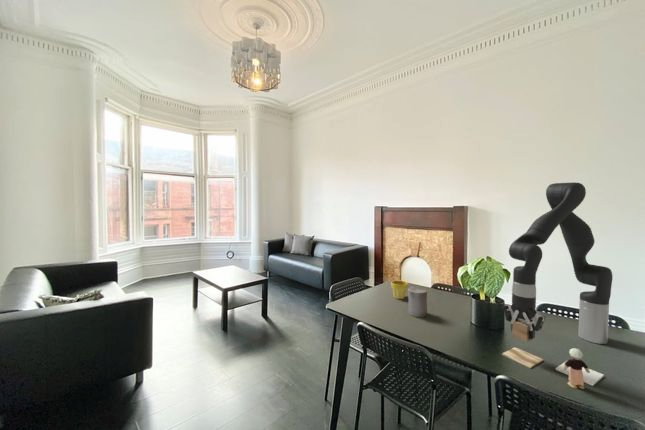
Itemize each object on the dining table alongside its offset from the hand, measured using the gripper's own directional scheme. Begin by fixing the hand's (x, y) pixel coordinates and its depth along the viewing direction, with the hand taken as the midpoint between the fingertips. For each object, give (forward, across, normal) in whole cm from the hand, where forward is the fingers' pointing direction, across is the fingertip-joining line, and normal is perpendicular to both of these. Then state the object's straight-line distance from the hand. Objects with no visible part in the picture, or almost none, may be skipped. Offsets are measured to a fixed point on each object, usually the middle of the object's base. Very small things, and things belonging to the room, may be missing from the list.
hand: (522, 335), depth 106 cm
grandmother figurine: (+9, -17, +3) cm, 20 cm away
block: (+1, 0, 0) cm, 1 cm away
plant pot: (+9, +74, -7) cm, 75 cm away
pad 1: (+9, 0, 0) cm, 9 cm away
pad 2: (+9, -15, -7) cm, 19 cm away
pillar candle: (+9, +50, +3) cm, 51 cm away
